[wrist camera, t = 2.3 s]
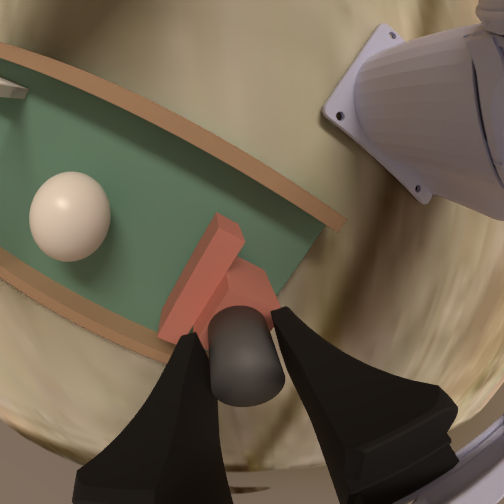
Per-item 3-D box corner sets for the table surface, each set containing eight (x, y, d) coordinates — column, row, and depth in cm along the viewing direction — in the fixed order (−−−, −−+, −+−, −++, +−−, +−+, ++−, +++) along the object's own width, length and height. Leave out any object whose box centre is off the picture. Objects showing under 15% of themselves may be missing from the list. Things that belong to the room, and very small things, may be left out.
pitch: (327, 206, 16) (346, 219, 13) (221, 357, 19) (224, 383, 16) (2, 43, 8) (-19, 37, 6) (-49, 208, 11) (-70, 219, 9)
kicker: (280, 246, 15) (336, 331, 8) (221, 332, 16) (236, 435, 10) (216, 210, 13) (227, 283, 7) (162, 306, 15) (146, 411, 8)
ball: (133, 187, 13) (108, 207, 9) (104, 255, 14) (77, 293, 10) (69, 153, 11) (27, 163, 8) (46, 222, 12) (6, 250, 9)
